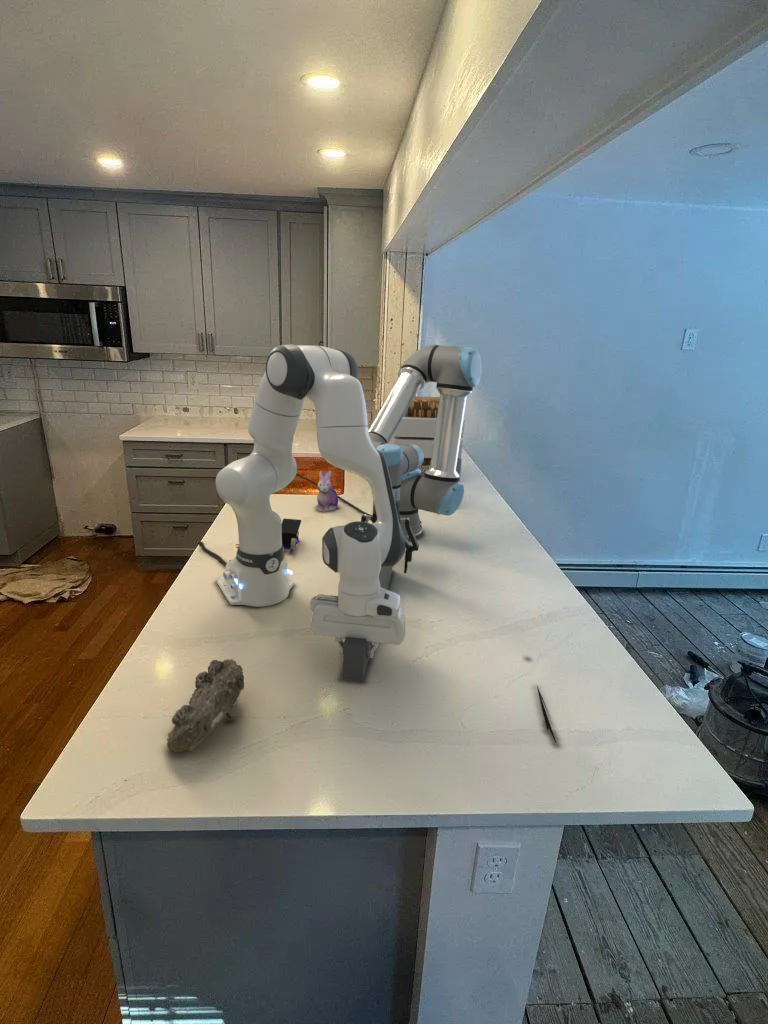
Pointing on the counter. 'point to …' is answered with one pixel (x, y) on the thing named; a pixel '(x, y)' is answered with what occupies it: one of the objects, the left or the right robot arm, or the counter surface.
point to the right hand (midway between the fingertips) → (383, 569)
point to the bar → (360, 642)
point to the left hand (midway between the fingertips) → (357, 654)
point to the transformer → (422, 428)
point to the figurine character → (290, 533)
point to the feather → (545, 714)
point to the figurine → (326, 493)
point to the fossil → (206, 705)
